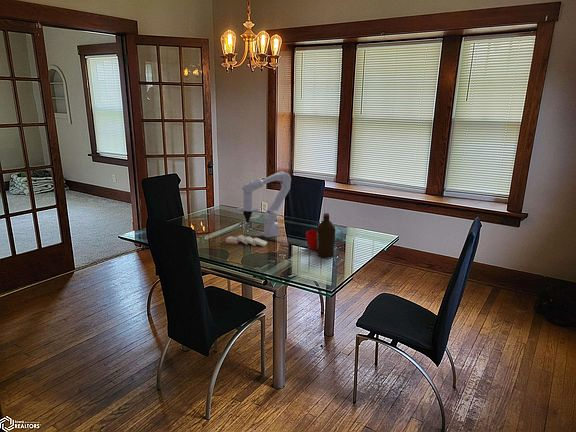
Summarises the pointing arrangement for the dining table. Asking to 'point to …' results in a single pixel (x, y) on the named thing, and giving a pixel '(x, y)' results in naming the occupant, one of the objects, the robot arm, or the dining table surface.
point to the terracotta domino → (232, 242)
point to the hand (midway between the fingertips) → (247, 222)
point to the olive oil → (325, 238)
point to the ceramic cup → (312, 239)
